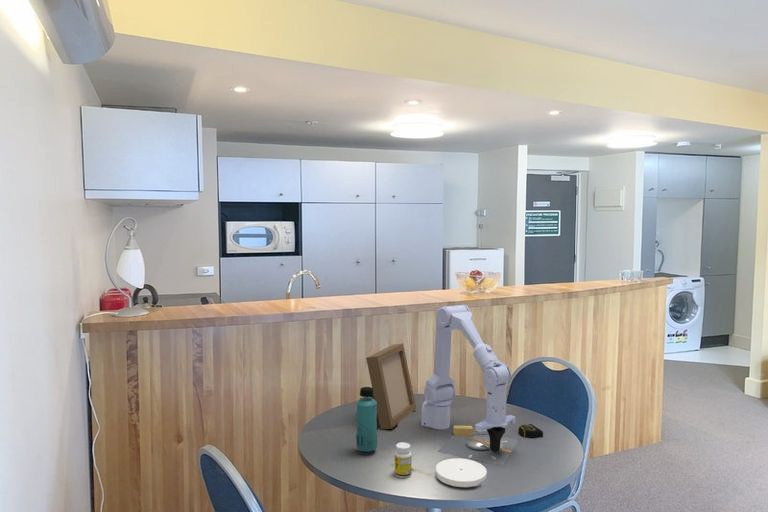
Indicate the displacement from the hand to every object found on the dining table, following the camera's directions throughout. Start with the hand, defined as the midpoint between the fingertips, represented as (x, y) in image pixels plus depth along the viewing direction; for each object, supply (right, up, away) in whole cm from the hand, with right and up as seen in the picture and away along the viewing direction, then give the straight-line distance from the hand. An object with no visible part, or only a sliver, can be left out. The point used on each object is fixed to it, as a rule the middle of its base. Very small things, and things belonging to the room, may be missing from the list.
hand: (494, 450), depth 161 cm
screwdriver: (-4, 0, +15) cm, 16 cm away
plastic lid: (-12, -4, -12) cm, 17 cm away
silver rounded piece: (-2, -1, +5) cm, 5 cm away
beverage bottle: (-39, -2, +4) cm, 39 cm away
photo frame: (-33, 0, +33) cm, 47 cm away
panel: (-4, -2, +6) cm, 8 cm away
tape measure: (+15, -2, +16) cm, 22 cm away
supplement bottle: (-28, -3, -11) cm, 30 cm away
